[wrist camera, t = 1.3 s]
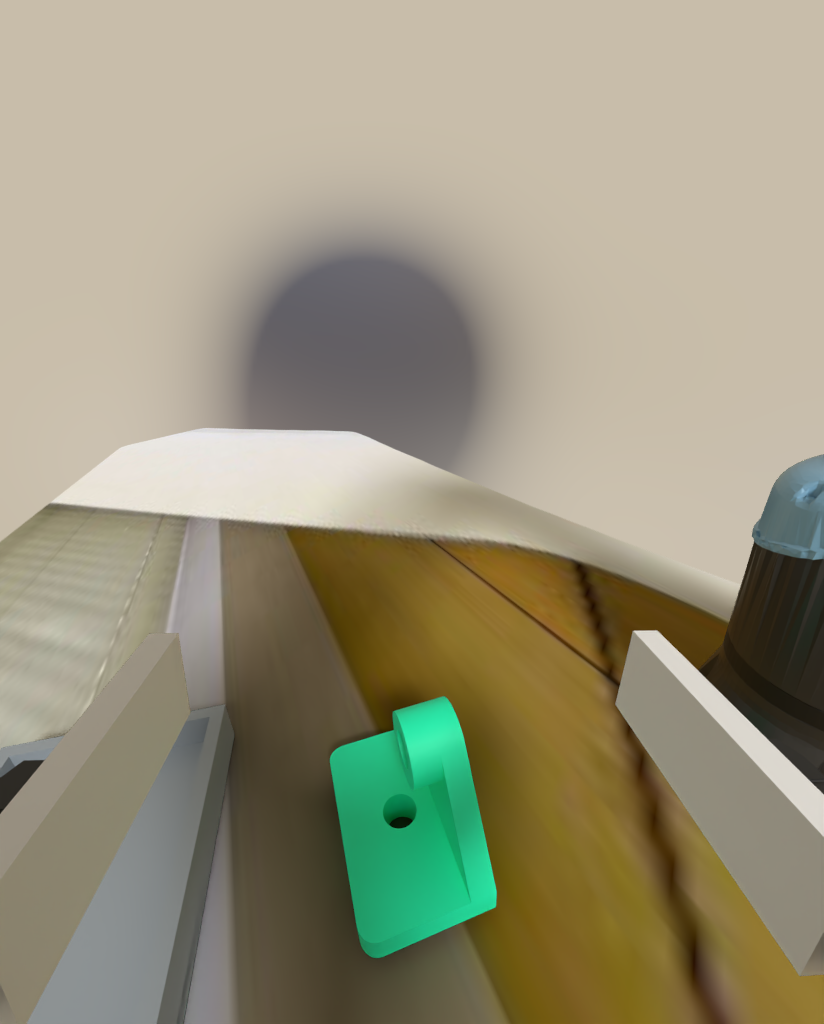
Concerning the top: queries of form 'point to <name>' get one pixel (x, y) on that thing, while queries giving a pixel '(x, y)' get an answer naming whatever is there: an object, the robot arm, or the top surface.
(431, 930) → the camera mount
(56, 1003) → the tray
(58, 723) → the top surface
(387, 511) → the top surface
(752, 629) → the robot arm
